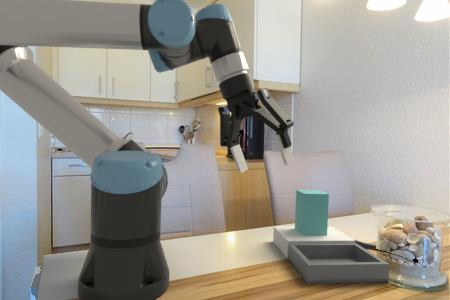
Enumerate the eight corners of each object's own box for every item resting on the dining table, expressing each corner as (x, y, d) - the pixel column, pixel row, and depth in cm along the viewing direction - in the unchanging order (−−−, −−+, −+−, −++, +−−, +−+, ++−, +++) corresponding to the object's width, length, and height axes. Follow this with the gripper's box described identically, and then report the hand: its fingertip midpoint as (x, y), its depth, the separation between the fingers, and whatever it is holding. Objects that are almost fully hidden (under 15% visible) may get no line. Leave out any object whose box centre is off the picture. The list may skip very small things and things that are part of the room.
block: (303, 235, 76) (304, 193, 75) (294, 228, 82) (296, 189, 81) (327, 235, 76) (328, 194, 76) (317, 228, 82) (318, 190, 82)
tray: (307, 283, 59) (308, 265, 59) (287, 259, 71) (288, 243, 71) (388, 282, 61) (389, 263, 61) (355, 258, 73) (356, 243, 73)
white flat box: (287, 258, 71) (287, 240, 71) (273, 241, 83) (273, 226, 83) (354, 257, 73) (355, 240, 73) (331, 241, 85) (332, 226, 85)
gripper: (288, 53, 64) (321, 152, 65) (210, 92, 82) (237, 169, 83) (266, 56, 59) (303, 164, 60) (188, 97, 77) (217, 179, 78)
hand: (265, 167), depth 72 cm, fingers open, 13 cm apart
